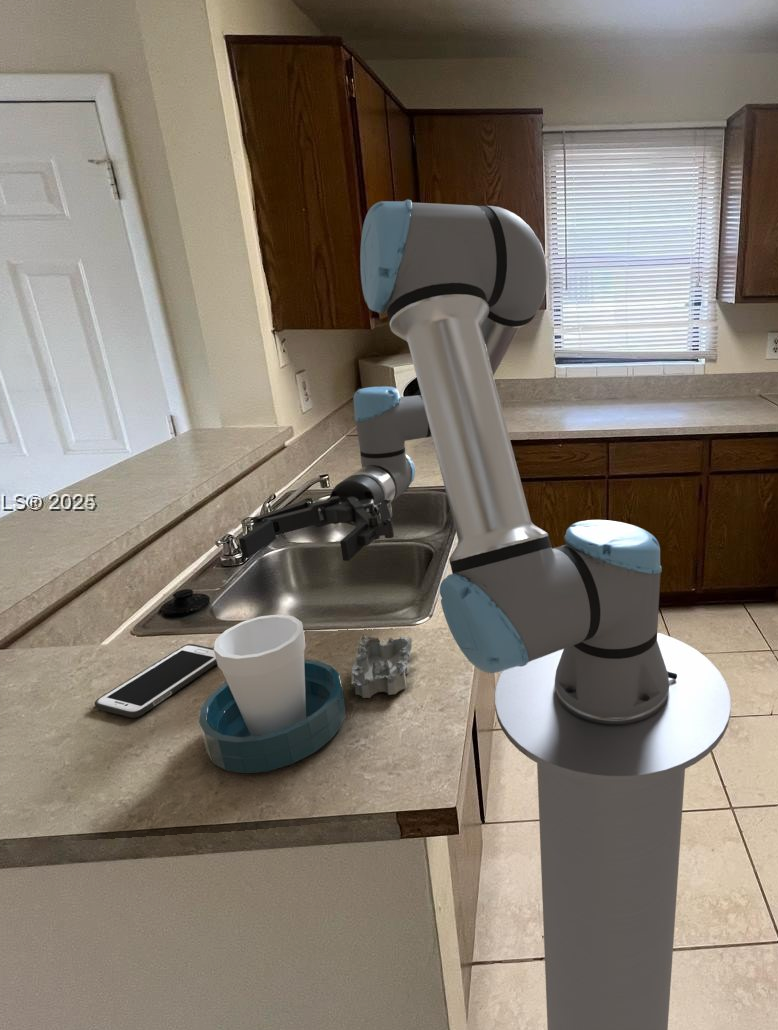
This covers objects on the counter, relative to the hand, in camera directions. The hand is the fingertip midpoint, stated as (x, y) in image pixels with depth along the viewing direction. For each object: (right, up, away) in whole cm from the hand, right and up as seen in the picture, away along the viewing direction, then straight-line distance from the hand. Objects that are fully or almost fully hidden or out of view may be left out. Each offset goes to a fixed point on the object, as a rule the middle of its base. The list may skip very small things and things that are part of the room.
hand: (293, 550), depth 78 cm
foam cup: (-1, -22, -2) cm, 22 cm away
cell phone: (-21, -19, +7) cm, 30 cm away
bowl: (-1, -22, -2) cm, 22 cm away
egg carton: (+9, -19, +8) cm, 22 cm away
